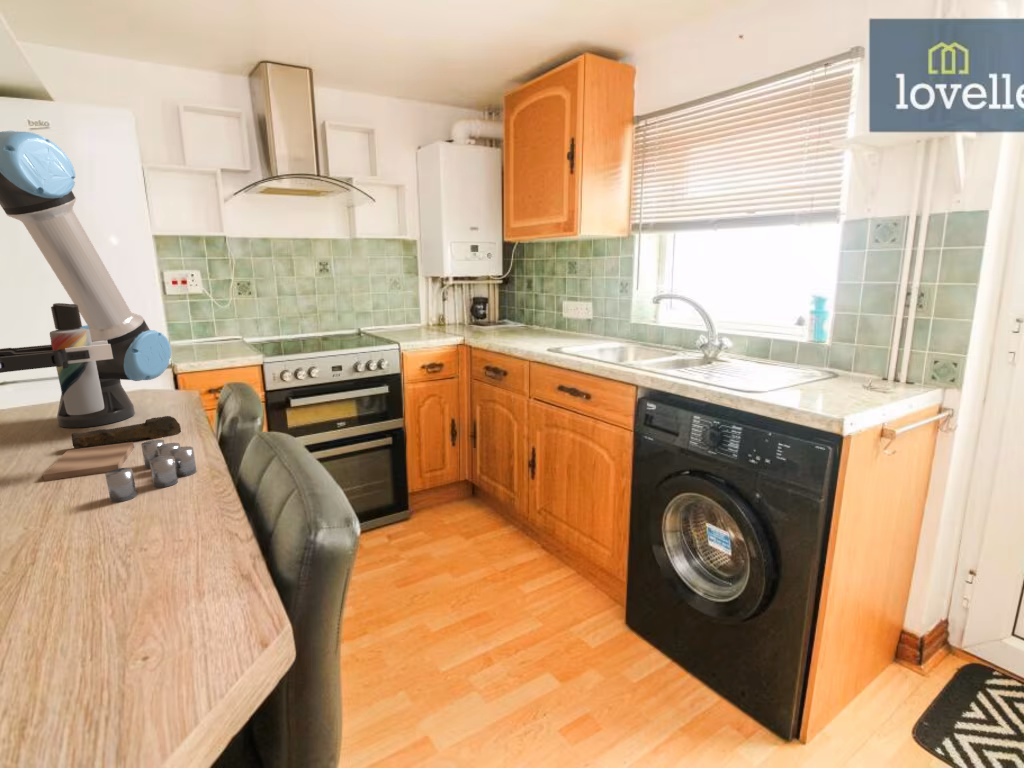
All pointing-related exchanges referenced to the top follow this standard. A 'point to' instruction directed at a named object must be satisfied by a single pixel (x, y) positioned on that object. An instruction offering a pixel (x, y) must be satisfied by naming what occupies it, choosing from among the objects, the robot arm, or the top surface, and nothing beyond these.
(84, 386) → the lotion bottle
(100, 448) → the brown wooden flat board
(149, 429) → the hand tool
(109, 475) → the steel spacers
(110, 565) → the top surface
